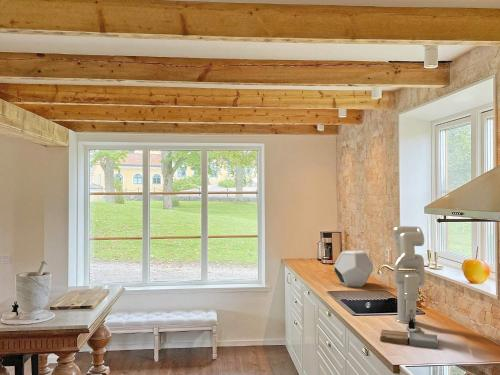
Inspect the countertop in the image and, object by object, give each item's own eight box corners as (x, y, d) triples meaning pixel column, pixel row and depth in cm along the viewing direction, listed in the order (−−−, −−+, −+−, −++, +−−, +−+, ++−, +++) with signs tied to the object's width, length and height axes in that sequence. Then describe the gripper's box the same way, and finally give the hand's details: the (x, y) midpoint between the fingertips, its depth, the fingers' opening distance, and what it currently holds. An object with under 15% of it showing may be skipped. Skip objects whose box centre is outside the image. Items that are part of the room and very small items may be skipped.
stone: (403, 329, 267) (403, 324, 267) (418, 330, 267) (418, 324, 267) (411, 335, 255) (411, 329, 255) (427, 336, 255) (427, 330, 255)
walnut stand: (381, 335, 258) (381, 329, 258) (407, 337, 254) (407, 332, 254) (380, 342, 245) (380, 336, 245) (407, 345, 240) (407, 339, 240)
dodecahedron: (380, 287, 389) (380, 252, 390) (341, 289, 383) (341, 254, 383) (363, 280, 422) (363, 248, 423) (327, 282, 416) (327, 249, 416)
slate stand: (409, 337, 253) (409, 331, 253) (436, 340, 248) (436, 334, 248) (409, 345, 240) (409, 339, 240) (438, 348, 235) (438, 342, 235)
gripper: (404, 292, 268) (405, 321, 268) (404, 299, 252) (404, 330, 252) (418, 293, 266) (418, 322, 265) (418, 300, 249) (418, 331, 249)
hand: (411, 326), depth 259 cm, fingers open, 9 cm apart
